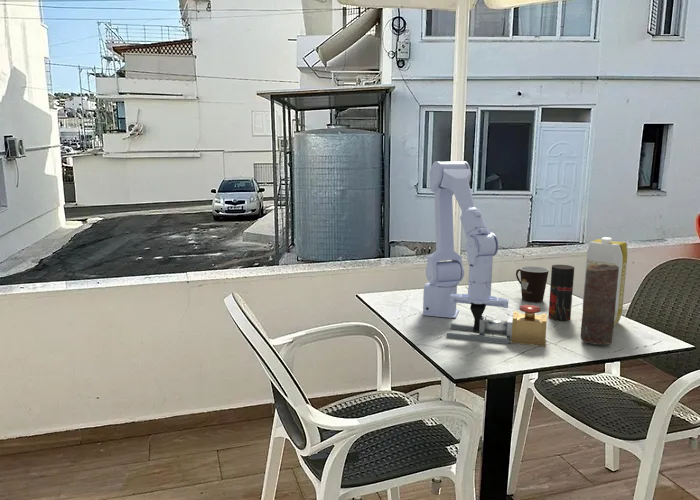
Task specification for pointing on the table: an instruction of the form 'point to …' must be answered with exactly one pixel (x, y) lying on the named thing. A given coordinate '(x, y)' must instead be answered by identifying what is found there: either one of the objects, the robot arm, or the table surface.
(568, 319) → the deodorant
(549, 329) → the table surface
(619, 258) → the juice carton
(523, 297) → the coffee mug
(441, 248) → the robot arm
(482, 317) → the spool
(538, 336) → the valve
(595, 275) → the rock core sample
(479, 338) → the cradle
